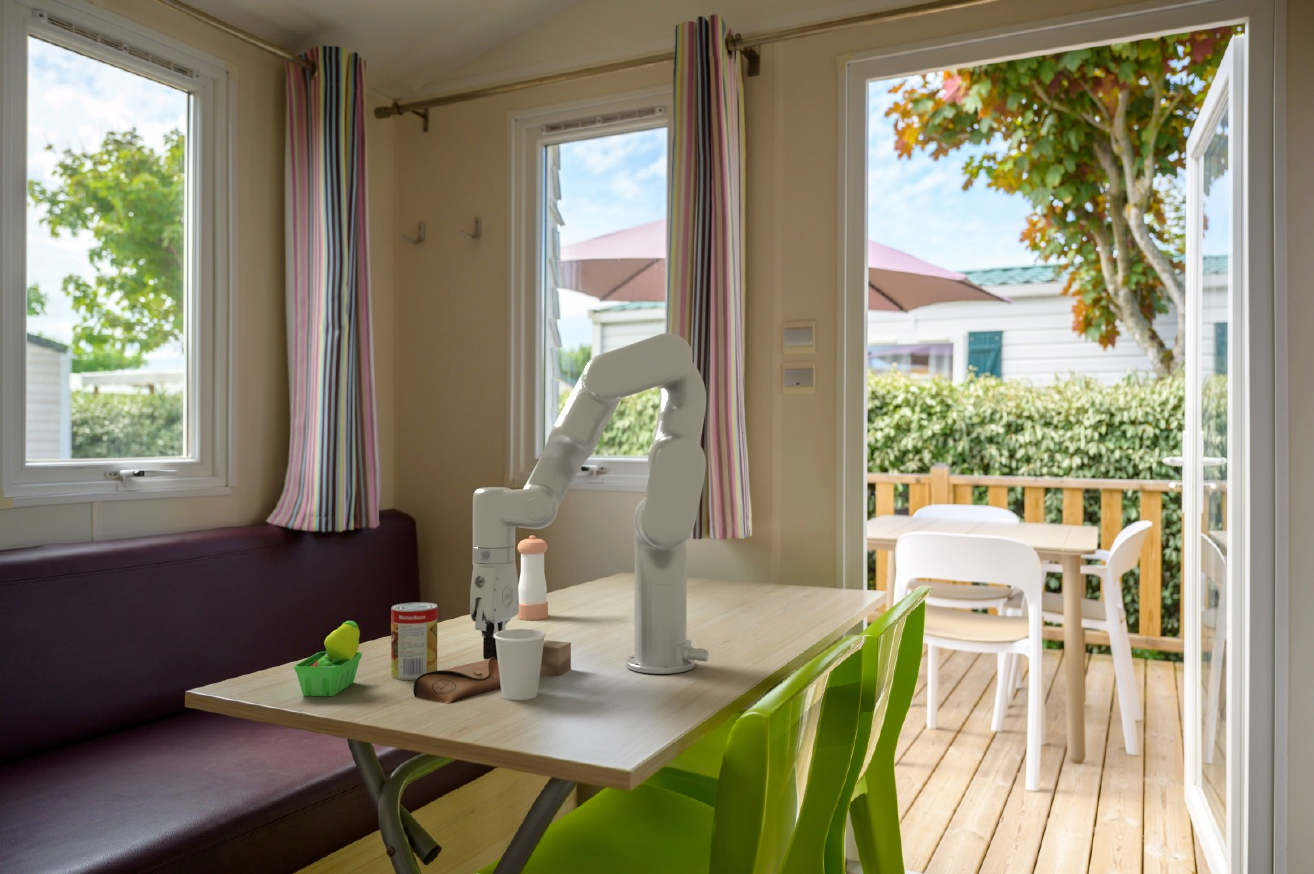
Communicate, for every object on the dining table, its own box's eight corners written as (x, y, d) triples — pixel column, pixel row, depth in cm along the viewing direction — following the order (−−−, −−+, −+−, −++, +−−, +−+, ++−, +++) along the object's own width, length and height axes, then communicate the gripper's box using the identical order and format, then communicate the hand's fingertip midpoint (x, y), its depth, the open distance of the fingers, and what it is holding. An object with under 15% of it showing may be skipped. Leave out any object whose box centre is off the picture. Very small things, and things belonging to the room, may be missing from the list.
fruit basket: (319, 680, 159) (320, 614, 159) (370, 680, 159) (371, 614, 159) (291, 698, 148) (291, 627, 148) (346, 699, 147) (346, 628, 147)
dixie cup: (486, 701, 146) (486, 637, 146) (503, 687, 154) (503, 627, 154) (537, 703, 145) (537, 639, 145) (551, 689, 153) (552, 629, 153)
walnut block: (570, 669, 167) (570, 642, 167) (558, 676, 162) (558, 647, 162) (545, 667, 168) (545, 640, 168) (533, 674, 164) (533, 645, 164)
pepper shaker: (545, 620, 213) (546, 537, 213) (514, 620, 213) (514, 537, 213) (550, 614, 220) (550, 534, 220) (519, 614, 220) (519, 533, 220)
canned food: (435, 667, 168) (435, 601, 168) (439, 677, 161) (439, 608, 161) (390, 670, 166) (390, 603, 166) (392, 681, 158) (392, 611, 158)
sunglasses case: (447, 704, 144) (433, 664, 146) (422, 720, 147) (408, 681, 149) (529, 680, 158) (514, 644, 160) (503, 696, 162) (490, 660, 164)
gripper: (490, 562, 157) (490, 670, 157) (532, 552, 171) (531, 651, 171) (452, 560, 160) (452, 666, 160) (496, 550, 174) (496, 648, 174)
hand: (493, 658), depth 166 cm, fingers closed
